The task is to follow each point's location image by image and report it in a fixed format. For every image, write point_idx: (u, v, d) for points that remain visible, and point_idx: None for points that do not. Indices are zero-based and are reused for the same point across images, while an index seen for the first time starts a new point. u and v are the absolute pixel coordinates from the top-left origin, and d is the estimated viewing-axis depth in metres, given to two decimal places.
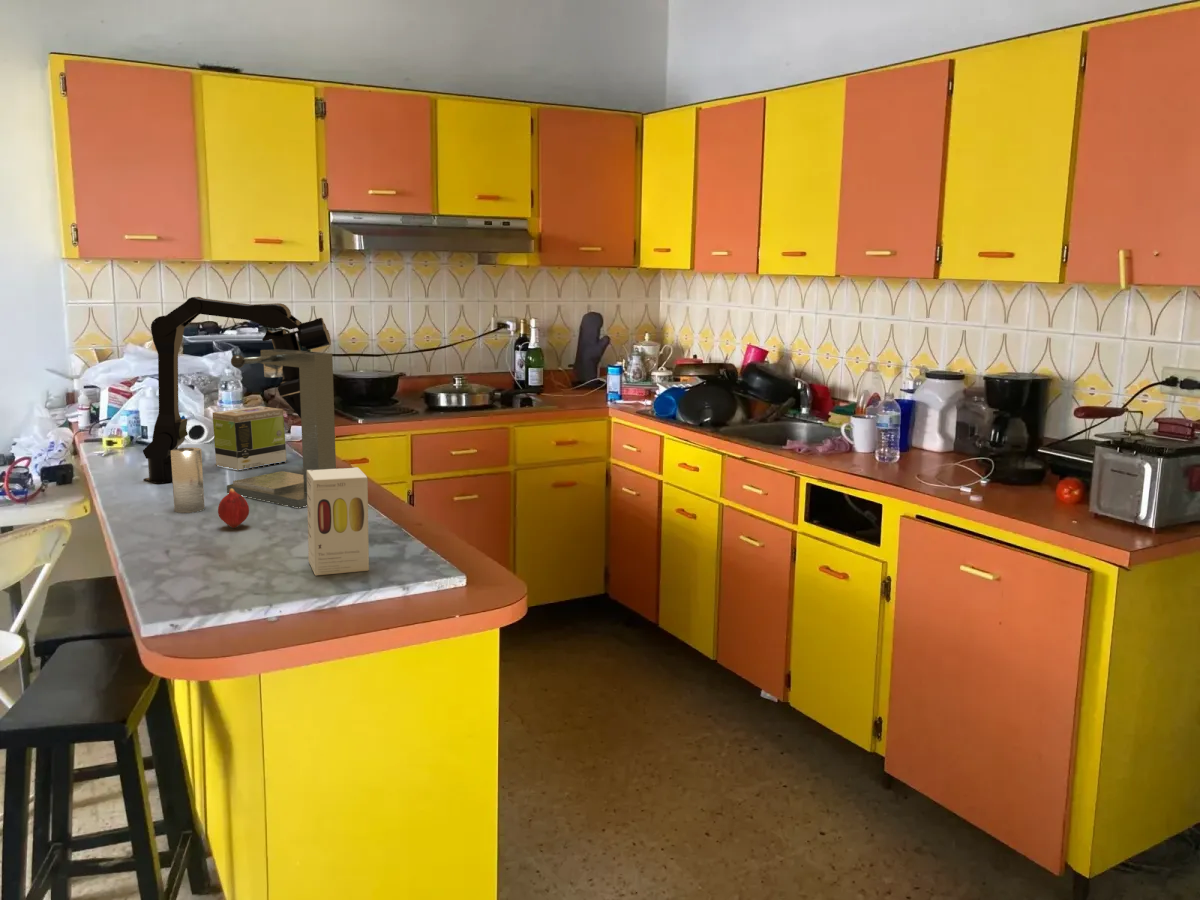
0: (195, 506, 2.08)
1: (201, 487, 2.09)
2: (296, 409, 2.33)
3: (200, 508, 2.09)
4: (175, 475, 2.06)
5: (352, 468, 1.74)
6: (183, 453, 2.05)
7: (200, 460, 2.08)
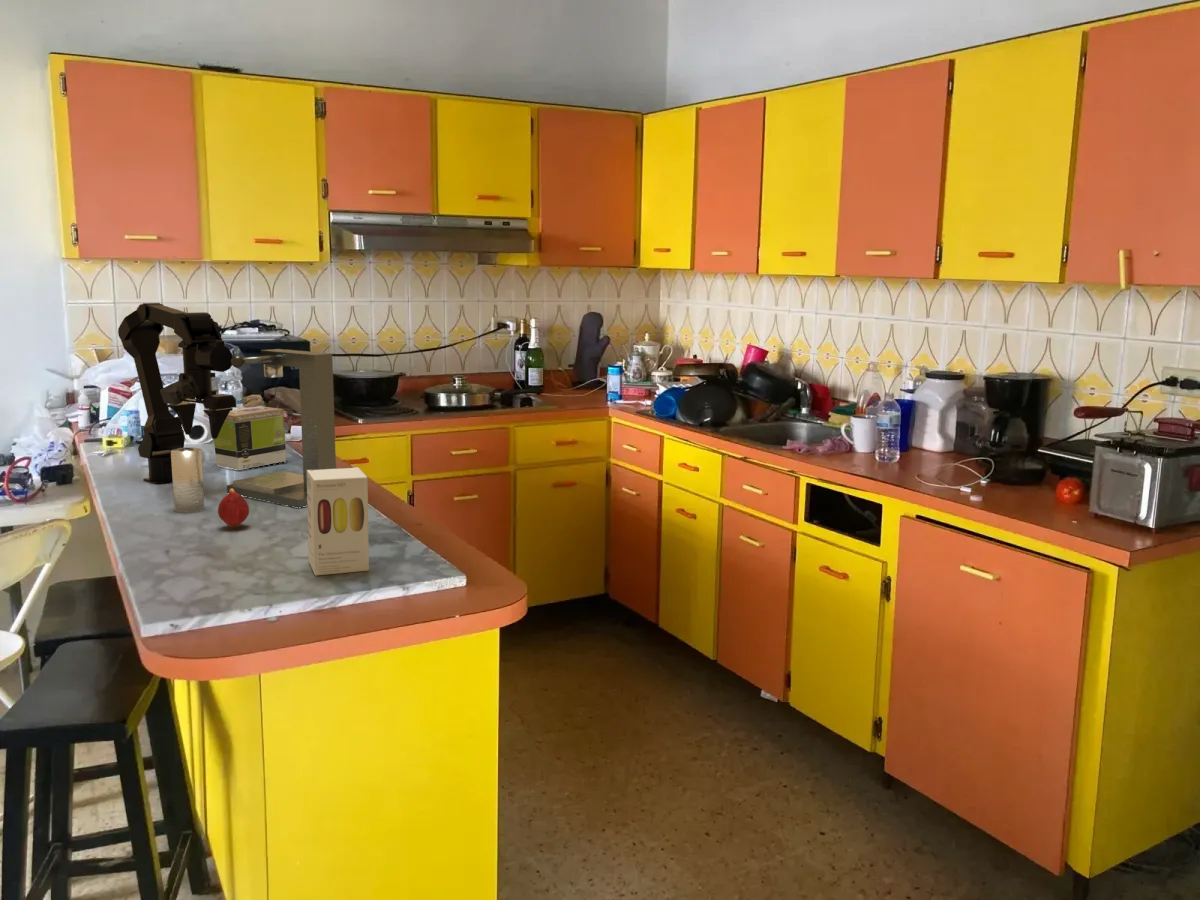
0: (195, 506, 2.08)
1: (201, 487, 2.09)
2: None
3: (200, 508, 2.09)
4: (175, 475, 2.06)
5: (352, 468, 1.74)
6: (183, 453, 2.05)
7: (200, 460, 2.08)
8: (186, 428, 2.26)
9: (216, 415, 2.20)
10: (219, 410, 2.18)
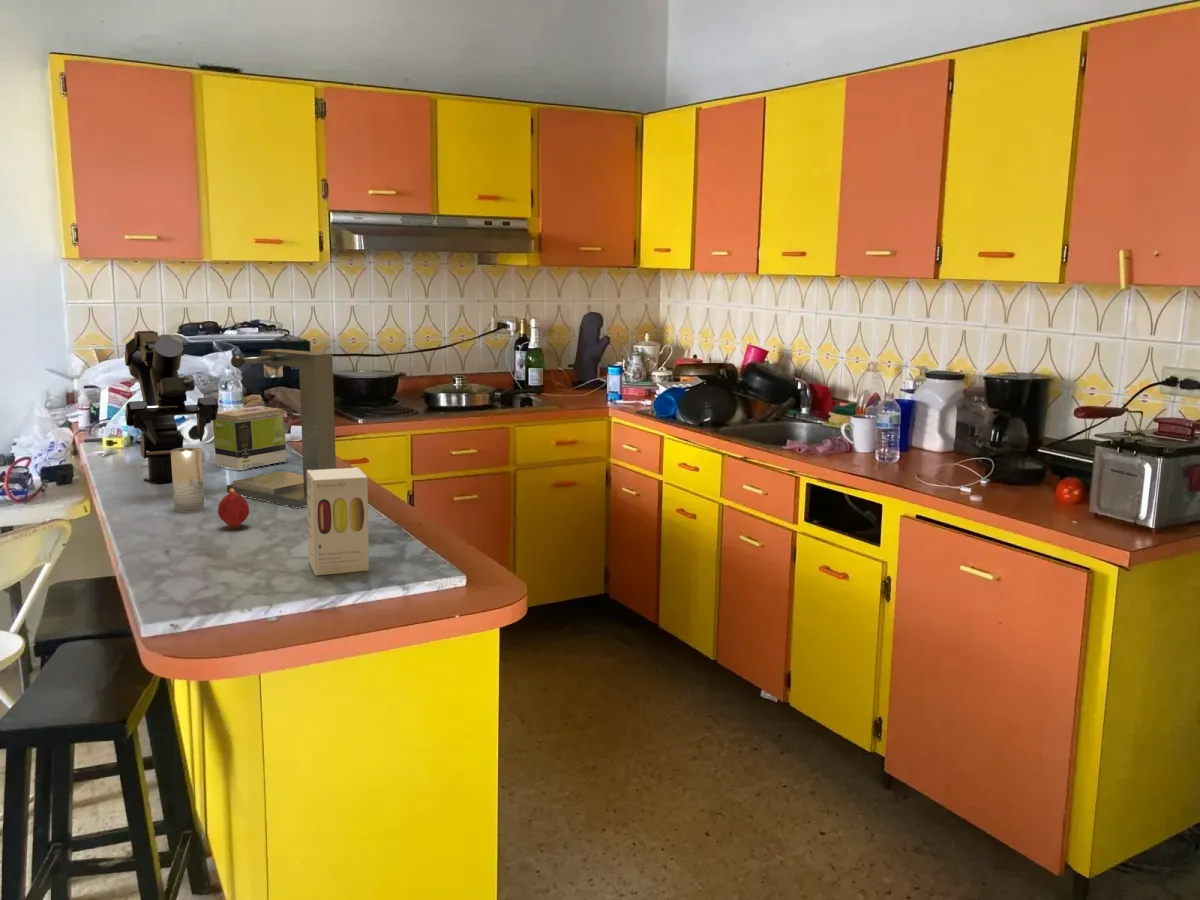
0: (195, 506, 2.08)
1: (201, 487, 2.09)
2: (148, 435, 2.13)
3: (200, 508, 2.09)
4: (175, 475, 2.06)
5: (352, 468, 1.74)
6: (183, 453, 2.05)
7: (200, 460, 2.08)
8: None
9: None
10: None
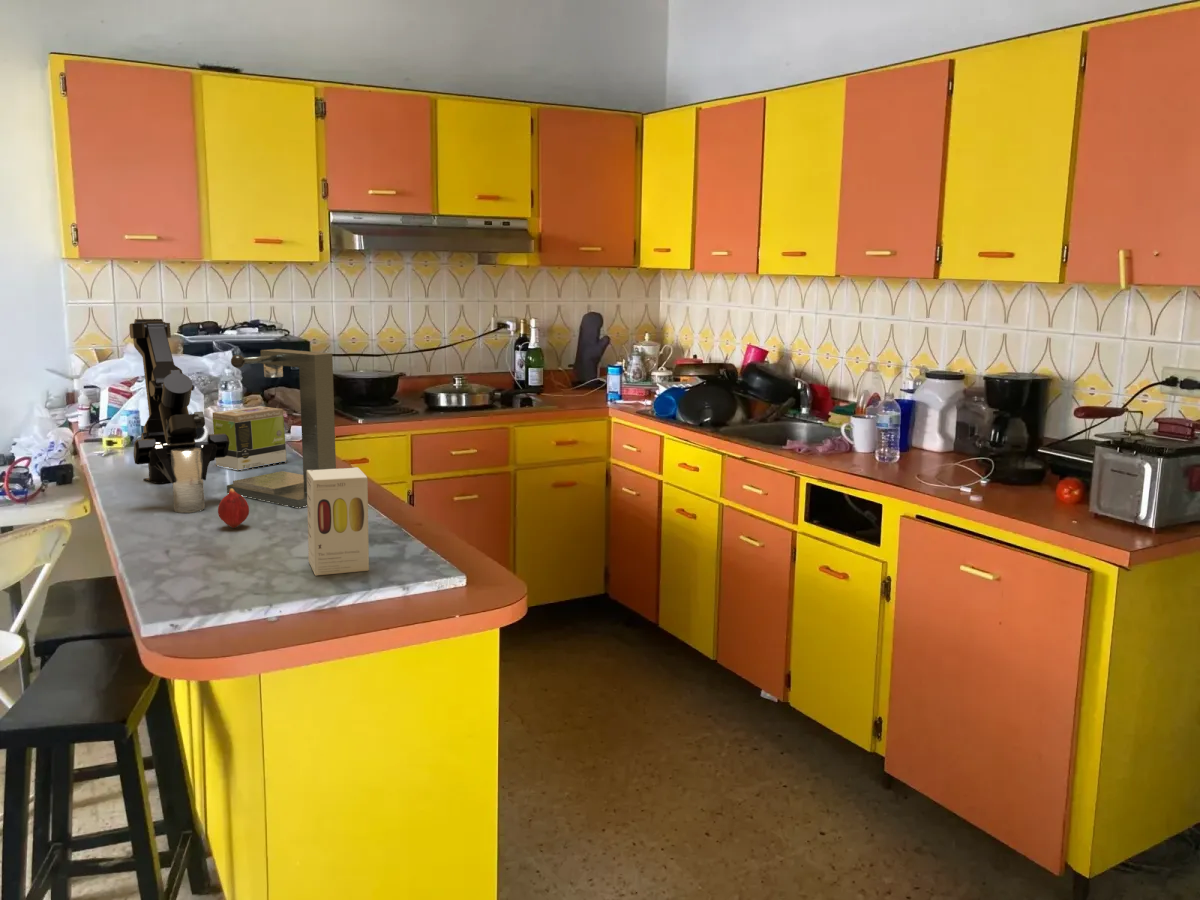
0: (195, 506, 2.08)
1: (201, 487, 2.09)
2: (164, 473, 2.08)
3: (200, 508, 2.09)
4: (175, 474, 2.06)
5: (352, 468, 1.74)
6: (183, 453, 2.05)
7: (200, 460, 2.08)
8: None
9: None
10: None
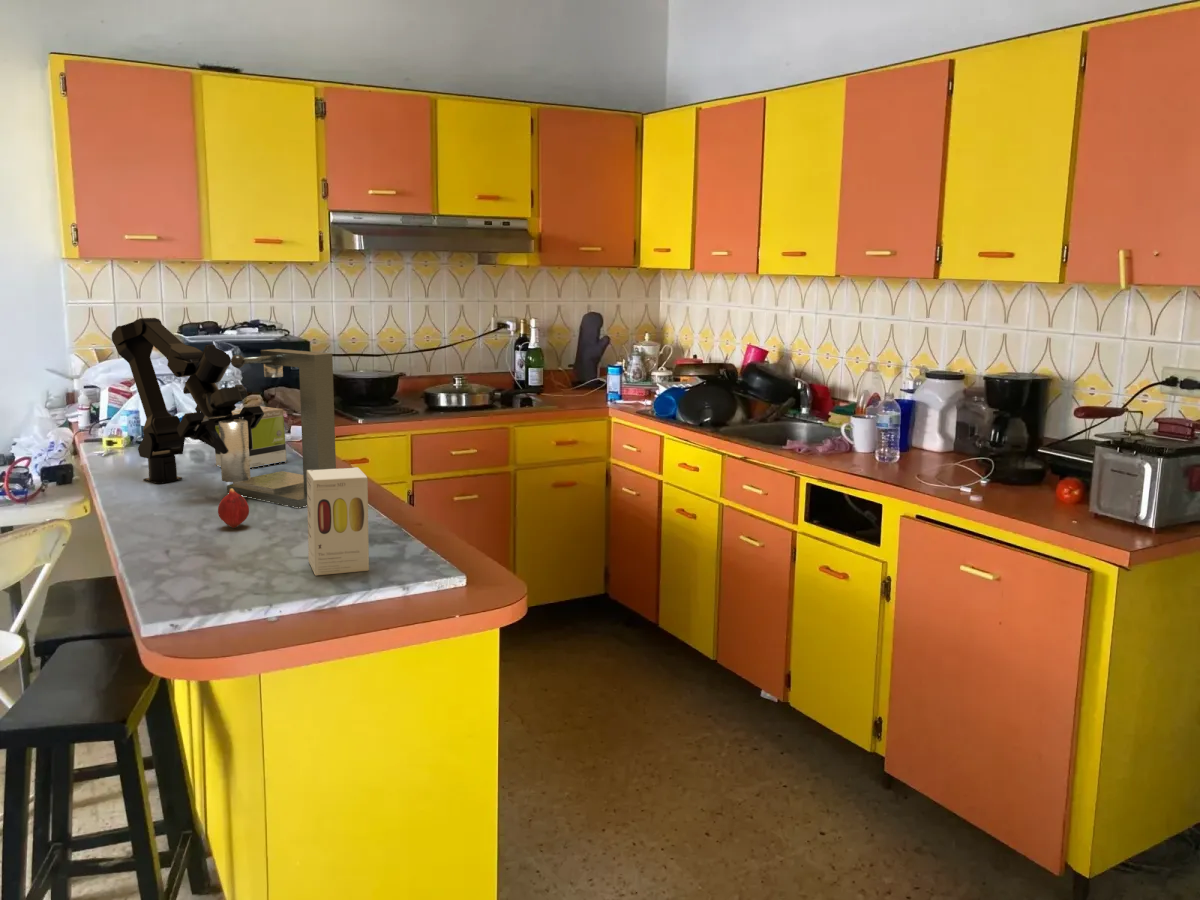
0: (246, 474, 2.17)
1: None
2: (213, 445, 2.14)
3: (249, 476, 2.18)
4: (227, 445, 2.14)
5: (352, 468, 1.74)
6: (236, 424, 2.14)
7: None
8: None
9: None
10: None
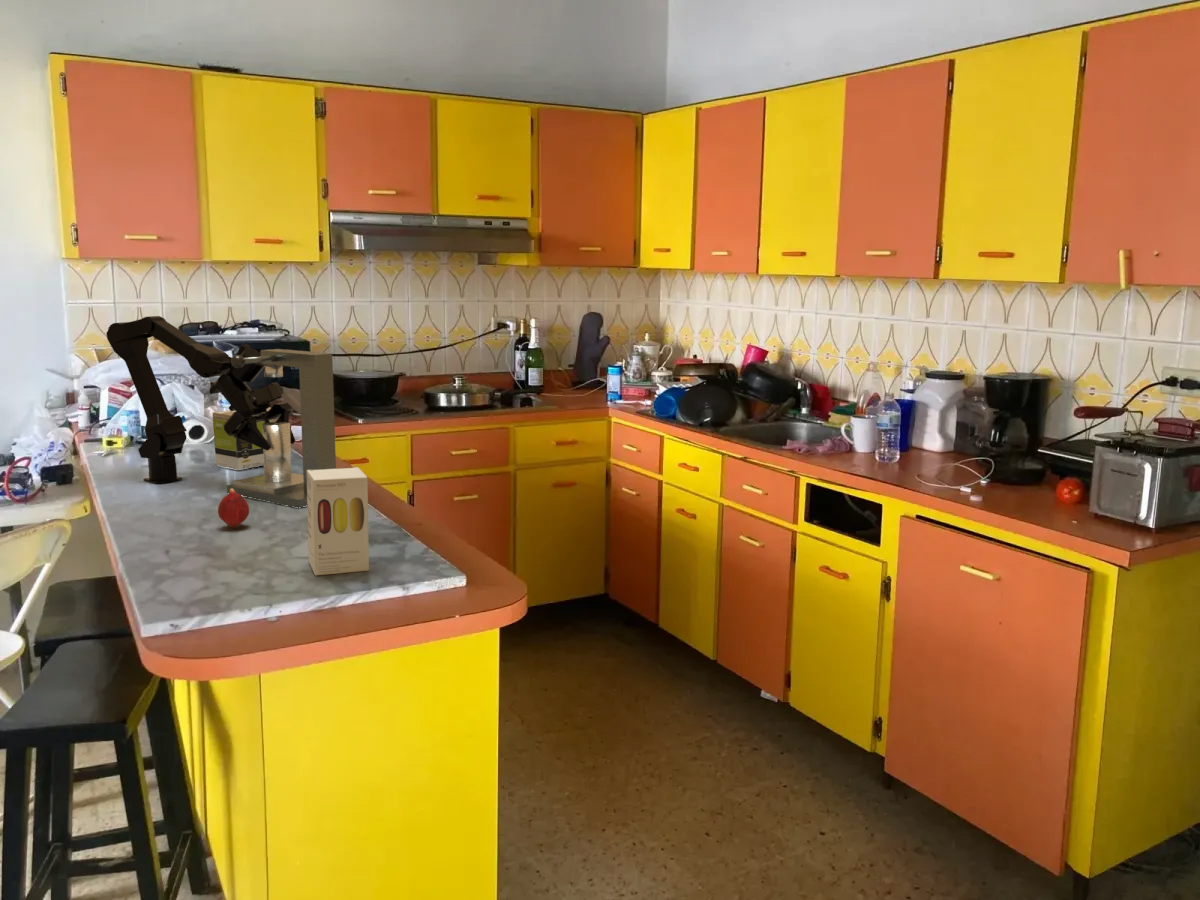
0: (290, 474, 2.27)
1: None
2: (255, 442, 2.20)
3: (291, 476, 2.28)
4: (275, 447, 2.23)
5: (352, 468, 1.74)
6: (283, 426, 2.23)
7: None
8: None
9: None
10: None
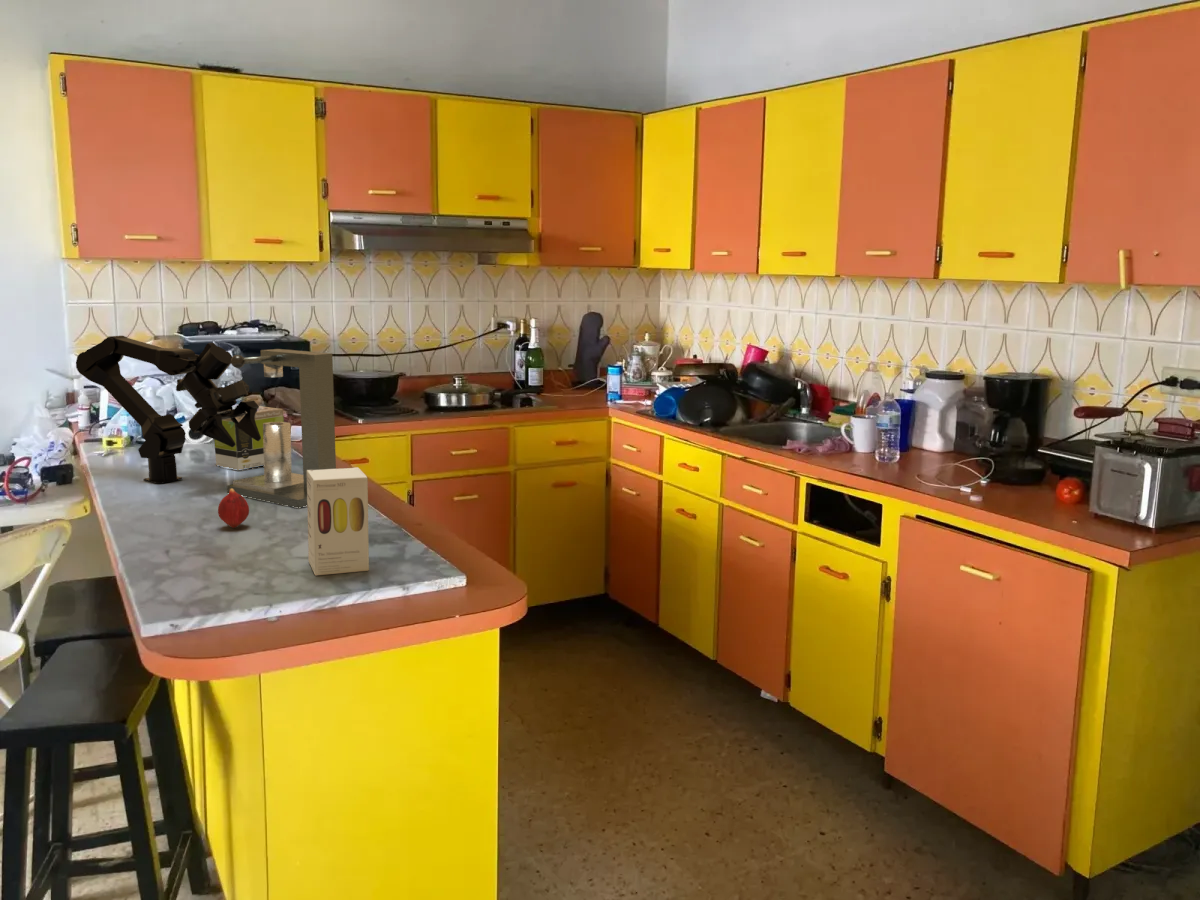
0: (290, 474, 2.27)
1: None
2: (220, 439, 2.23)
3: (291, 476, 2.28)
4: (275, 447, 2.23)
5: (352, 468, 1.74)
6: (284, 426, 2.23)
7: None
8: None
9: None
10: None
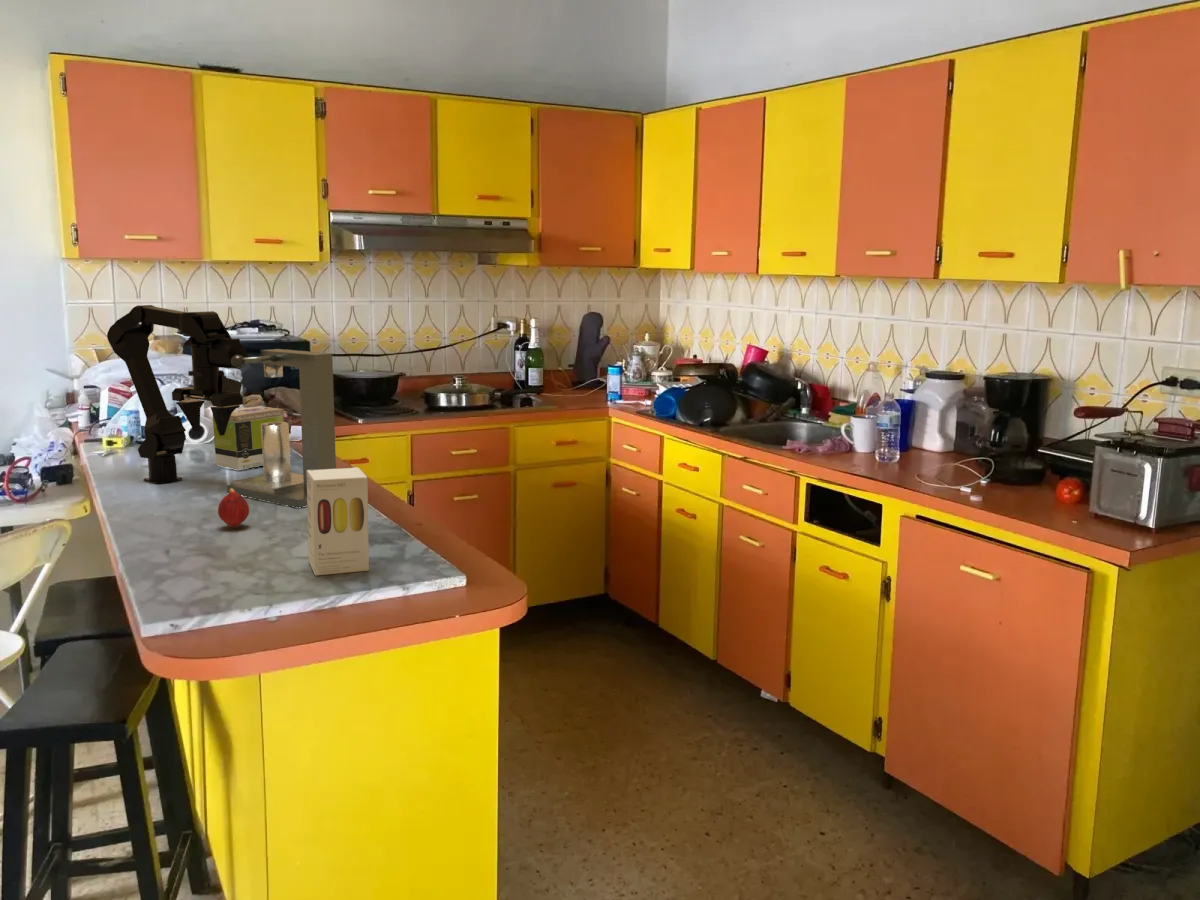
0: (290, 474, 2.27)
1: None
2: (220, 423, 2.24)
3: None
4: (274, 447, 2.22)
5: (352, 468, 1.74)
6: (282, 426, 2.23)
7: None
8: None
9: None
10: None
